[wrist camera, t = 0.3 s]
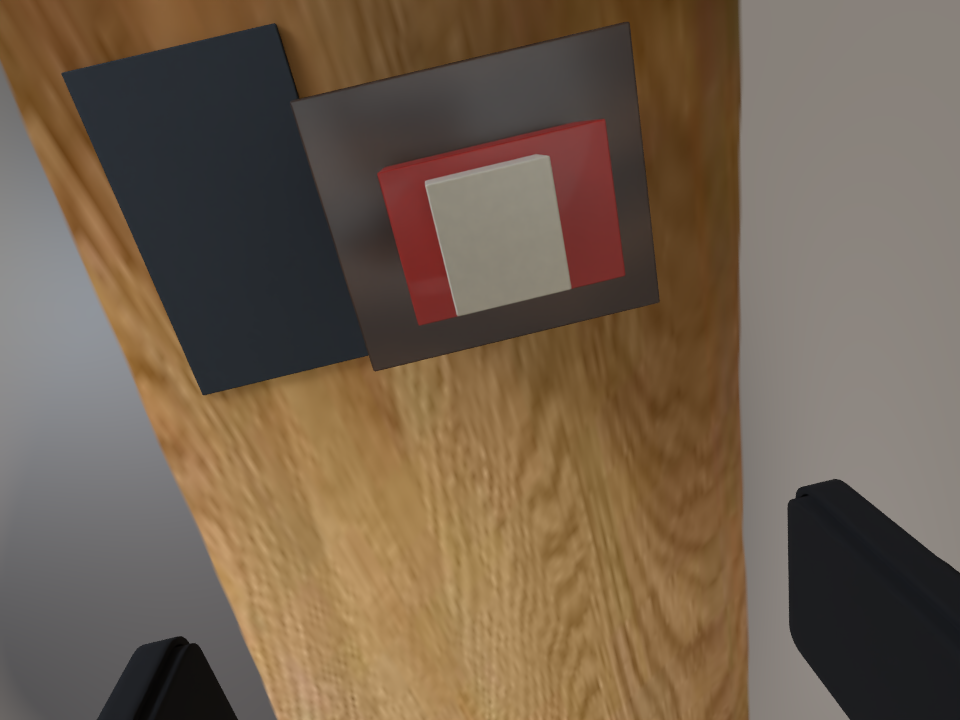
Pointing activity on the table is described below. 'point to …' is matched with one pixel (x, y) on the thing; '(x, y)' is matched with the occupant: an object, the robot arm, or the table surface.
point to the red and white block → (505, 220)
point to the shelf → (460, 124)
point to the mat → (223, 204)
